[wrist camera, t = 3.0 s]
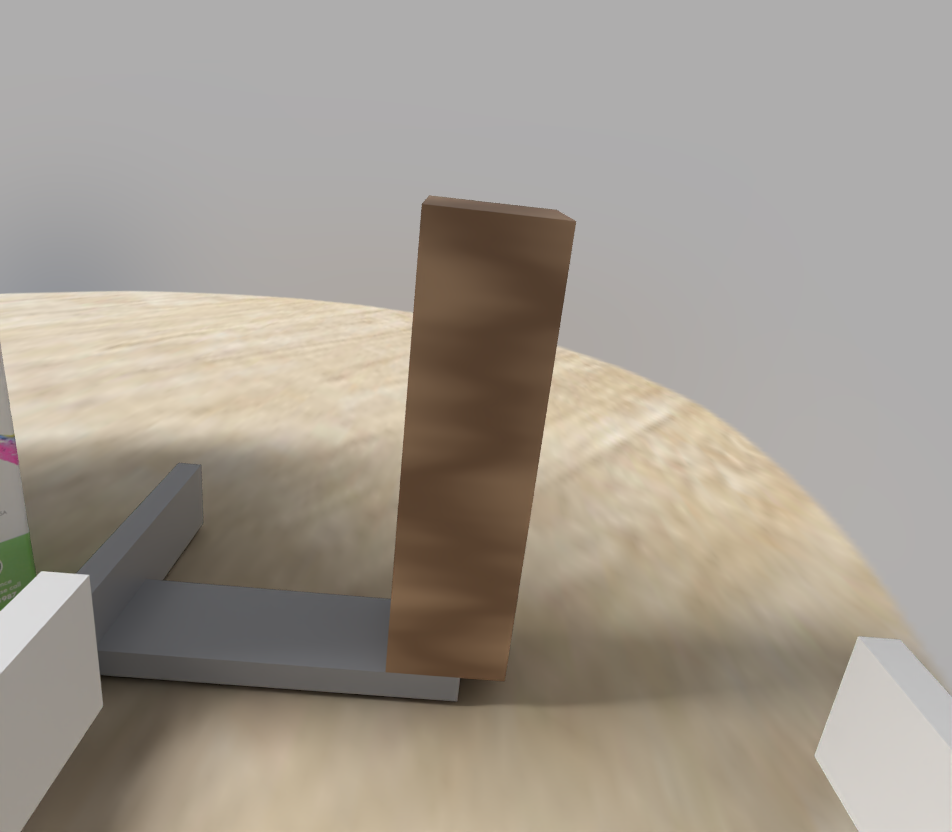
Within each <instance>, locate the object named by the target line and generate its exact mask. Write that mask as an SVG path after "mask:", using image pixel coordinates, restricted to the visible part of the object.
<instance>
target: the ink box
mask: <svg viewBox="0 0 952 832" xmlns="http://www.w3.org/2000/svg"><path fill="white" fill-rule="evenodd" d="M35 577H36V570H35V565H34V560H33V553H32V546H31V541H30V533H29V527H28V520H27V514H26V508H25V501H24V495H23V488H22V481H21V474H20V468H19V461H18V455H17V448H16V442H15V435H14V429H13V422H12V416H11V411H10V402H9V396H8V389H7V383H6V377H5V371H4V364H3V358H2V352H1V344H0V611H1V610H2V609H3V608H4V607H5V606H6V605H7V604H8V603H9V602H11V601H12V600H13V599H14V598H15V597H16V596H17V595H18V594H19V593H20V592H21V591H22V590H23V589H24V588H25V587H26V586H27V585H28V584H29V583H30V582H31V581H32V580H33V579H34V578H35Z"/></svg>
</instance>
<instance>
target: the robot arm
mask: <svg viewBox="0 0 952 832" xmlns="http://www.w3.org/2000/svg"><path fill="white" fill-rule="evenodd" d="M102 707H103V699H102V689H101V680H100V671H99V661H98V652H97V642H96V633H95V624H94V614H93V605H92V595H91V586H90V576H89V575H83V574H71V573H58V572H46V571H41V572H40V573H39V574H38V575H37V576H36V577H35V578H34V579H33V580H32V581H31V582H30V583H29V584H28V585H27V586H26V587H25V588H24V589H23V590H22V591H21V592H20V593H19V594H18V595H17V596H16V597H15V598H14V599H13V600H12V601H11V602H9V603H8V604H7V605H6V606H5V607H4V608H3V609H2V610H1V611H0V832H21V830H22V829H23V827H24V826H25V824H26V823H27V821H28V820H29V818H30V817H31V815H32V814H33V812H34V811H35V809H36V808H37V806H38V805H39V803H40V801H41V800H42V798H43V797H44V795H45V794H46V792H47V791H48V789H49V788H50V786H51V785H52V783H53V782H54V780H55V779H56V777H57V776H58V774H59V773H60V771H61V770H62V768H63V767H64V765H65V764H66V762H67V760H68V759H69V757H70V756H71V754H72V753H73V751H74V750H75V748H76V747H77V745H78V744H79V742H80V741H81V739H82V738H83V736H84V735H85V733H86V732H87V730H88V729H89V727H90V726H91V724H92V723H93V721H94V719H95V718H96V716H97V715H98V713H99V712H100V710H101V709H102ZM814 756H815V758H816V760H817V762H818V763H819V765H820V767H821V768H822V770H823V772H824V773H825V775H826V777H827V779H828V780H829V782H830V784H831V785H832V787H833V789H834V791H835V792H836V794H837V796H838V797H839V799H840V801H841V802H842V804H843V806H844V808H845V809H846V811H847V813H848V814H849V816H850V818H851V820H852V821H853V823H854V825H855V826H856V828H857V830H858V831H859V832H952V696H951V695H950V694H949V693H948V692H947V691H946V690H945V688H944V687H943V686H942V685H941V684H940V683H939V682H938V681H937V680H936V679H935V677H934V676H933V675H932V674H931V673H930V672H929V671H928V670H927V669H926V667H925V666H924V665H923V664H922V663H921V662H920V661H919V660H918V659H917V658H916V656H915V655H914V654H913V653H912V652H911V651H910V650H909V649H908V648H907V647H906V645H905V644H904V643H903V642H902V641H901V640H899V639H886V638H874V637H861V636H858V638H857V641H856V643H855V646H854V649H853V651H852V654H851V657H850V660H849V662H848V665H847V668H846V671H845V673H844V676H843V679H842V681H841V684H840V687H839V690H838V692H837V695H836V698H835V701H834V703H833V706H832V709H831V711H830V714H829V717H828V720H827V722H826V725H825V728H824V730H823V733H822V736H821V739H820V741H819V744H818V747H817V750H816V752H815V755H814Z"/></svg>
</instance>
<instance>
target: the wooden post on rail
mask: <svg viewBox="0 0 952 832" xmlns="http://www.w3.org/2000/svg"><path fill="white" fill-rule="evenodd" d="M575 225H576V221H575V220H573V219H571V218H570V217H568V216H566V215H564V214H562V213H561V212H559V211H557V210H552V209H544V208H534V207H526V206H517V205H508V204H500V203H491V202H482V201H473V200H465V199H456V198H447V197H438V196H428V198H427V199H426V200H425V201H424V202H423V203H422V210H421V222H420V236H419V247H418V260H417V273H416V286H415V299H414V312H413V324H412V337H411V350H410V363H409V376H408V388H407V401H406V414H405V427H404V440H403V453H402V465H401V478H400V491H399V504H398V517H397V530H396V542H395V555H394V568H393V581H392V594H391V599H384V598H372V597H360V596H347V595H335V594H323V593H311V592H298V591H286V590H274V589H262V588H249V587H237V586H225V585H212V584H200V583H188V582H176V581H163V579H164V578H165V576H166V575H167V573H168V572H169V571H170V569H171V568H172V566H173V565H174V564H175V562H176V561H177V559H178V558H179V557H180V555H181V554H182V552H183V551H184V549H185V548H186V547H187V545H188V544H189V542H190V541H191V540H192V538H193V537H194V535H195V534H196V533H197V531H198V530H199V528H200V527H201V526H202V524H203V500H202V472H201V465H197V464H186V463H178V464H177V465H176V466H175V467H174V468H173V469H172V471H171V472H170V473H169V474H168V475H167V476H166V477H165V478H164V479H163V480H162V481H161V482H160V483H159V485H158V486H157V487H156V488H155V489H154V490H153V491H152V492H151V493H150V494H149V495H148V496H147V497H146V499H145V500H144V501H143V502H142V503H141V504H140V505H139V506H138V507H137V508H136V509H135V510H134V511H133V513H132V514H131V515H130V516H129V517H128V518H127V519H126V520H125V521H124V522H123V523H122V524H121V525H120V526H119V528H118V529H117V530H116V531H115V532H114V533H113V534H112V535H111V536H110V537H109V538H108V539H107V540H106V542H105V543H104V544H103V545H102V546H101V547H100V548H99V549H98V550H97V551H96V552H95V553H94V554H93V556H92V557H91V558H90V559H89V560H88V561H87V562H86V563H85V564H84V565H83V566H82V567H81V568H80V570H79V571H78V572H77V573H76V574H83V575H89V576H90V586H91V595H92V605H93V614H94V624H95V633H96V642H97V652H98V661H99V671H100V675H107V676H120V677H134V678H147V679H161V680H174V681H188V682H202V683H215V684H229V685H242V686H256V687H269V688H283V689H296V690H310V691H323V692H337V693H351V694H364V695H378V696H391V697H405V698H418V699H432V700H445V701H457V699H458V691H459V683H460V678H467V679H480V680H494V681H505V676H506V669H507V663H508V656H509V650H510V643H511V637H512V631H513V624H514V618H515V611H516V605H517V598H518V592H519V586H520V579H521V573H522V566H523V560H524V553H525V547H526V541H527V534H528V528H529V521H530V515H531V508H532V502H533V496H534V489H535V483H536V476H537V470H538V463H539V457H540V450H541V444H542V438H543V431H544V425H545V418H546V412H547V405H548V399H549V393H550V386H551V380H552V373H553V367H554V360H555V354H556V348H557V341H558V334H559V328H560V322H561V315H562V308H563V303H564V296H565V289H566V283H567V277H568V270H569V264H570V258H571V251H572V245H573V238H574V231H575Z"/></svg>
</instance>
